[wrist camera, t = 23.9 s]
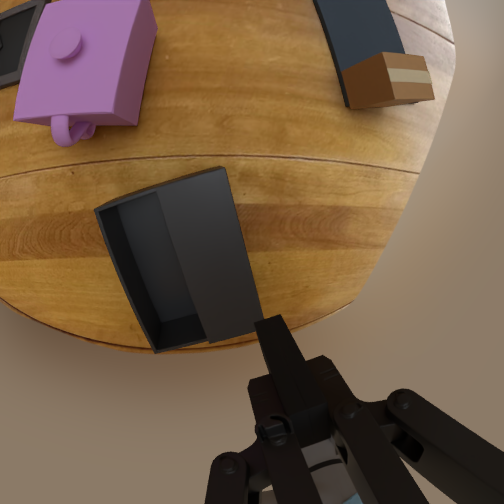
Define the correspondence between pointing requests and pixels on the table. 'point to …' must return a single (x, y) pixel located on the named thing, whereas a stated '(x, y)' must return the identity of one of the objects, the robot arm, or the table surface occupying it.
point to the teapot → (86, 67)
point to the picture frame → (17, 39)
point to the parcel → (388, 81)
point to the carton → (151, 267)
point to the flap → (212, 253)
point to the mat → (357, 32)
